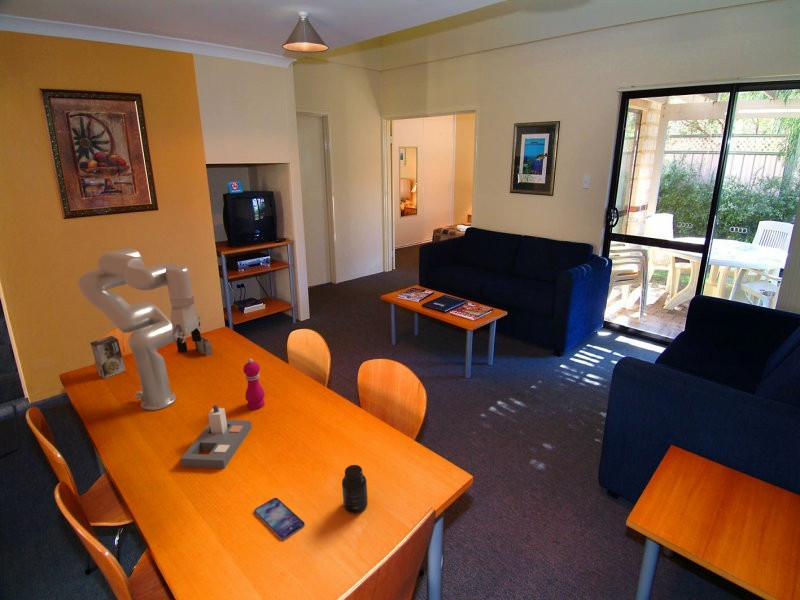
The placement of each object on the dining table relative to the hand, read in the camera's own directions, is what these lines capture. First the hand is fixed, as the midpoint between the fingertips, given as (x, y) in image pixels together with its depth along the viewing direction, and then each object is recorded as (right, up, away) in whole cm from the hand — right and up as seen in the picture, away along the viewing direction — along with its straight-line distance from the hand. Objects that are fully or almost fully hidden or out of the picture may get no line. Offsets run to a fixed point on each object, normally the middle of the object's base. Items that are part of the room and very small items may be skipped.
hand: (190, 346), depth 166 cm
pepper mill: (+19, -25, +15) cm, 35 cm away
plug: (+12, -31, -4) cm, 34 cm away
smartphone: (+42, -43, -40) cm, 72 cm away
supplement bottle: (+63, -41, -36) cm, 83 cm away
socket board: (+14, -33, -9) cm, 37 cm away
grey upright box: (-22, -10, +63) cm, 68 cm away
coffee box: (-55, -16, +43) cm, 72 cm away
